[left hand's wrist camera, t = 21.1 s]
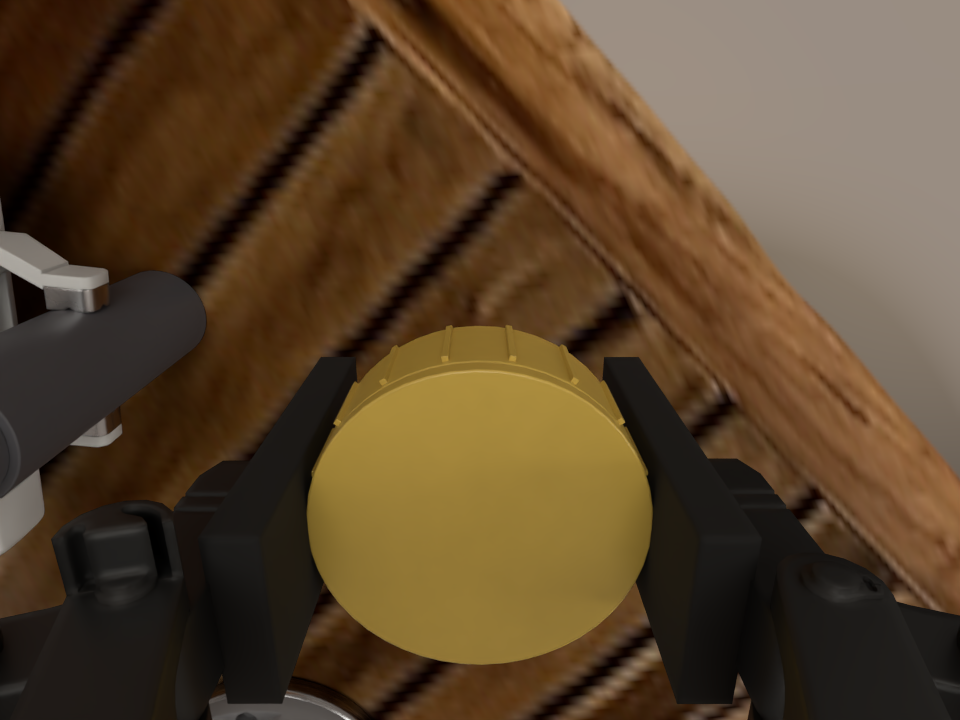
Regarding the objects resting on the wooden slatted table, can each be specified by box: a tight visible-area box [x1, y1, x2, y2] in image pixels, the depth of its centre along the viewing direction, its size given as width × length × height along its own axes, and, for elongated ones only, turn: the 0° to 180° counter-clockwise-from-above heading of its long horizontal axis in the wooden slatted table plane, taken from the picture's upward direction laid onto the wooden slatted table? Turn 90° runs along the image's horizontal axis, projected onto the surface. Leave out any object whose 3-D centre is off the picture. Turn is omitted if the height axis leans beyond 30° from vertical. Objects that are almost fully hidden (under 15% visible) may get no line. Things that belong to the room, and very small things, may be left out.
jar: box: [0, 271, 206, 498], centre depth 26 cm, size 5×5×16 cm
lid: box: [307, 325, 653, 665], centre depth 11 cm, size 6×6×2 cm
